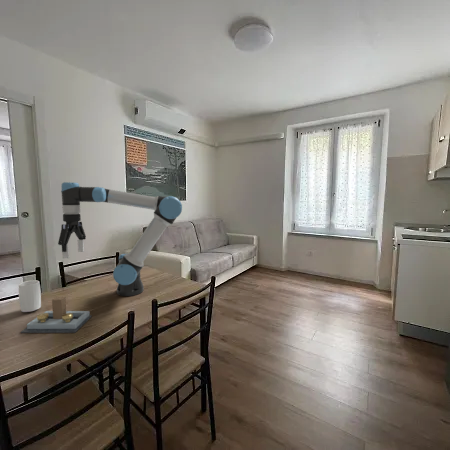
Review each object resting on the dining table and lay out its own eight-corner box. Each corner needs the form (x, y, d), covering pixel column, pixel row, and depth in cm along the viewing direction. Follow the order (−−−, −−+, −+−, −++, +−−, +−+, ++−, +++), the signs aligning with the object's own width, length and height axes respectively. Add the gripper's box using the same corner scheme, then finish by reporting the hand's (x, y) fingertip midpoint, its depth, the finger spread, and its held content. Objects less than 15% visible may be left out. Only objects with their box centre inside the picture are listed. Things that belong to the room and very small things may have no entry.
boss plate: (91, 316, 117) (91, 305, 116) (75, 332, 103) (74, 320, 102) (44, 316, 116) (43, 305, 115) (20, 332, 102) (19, 320, 101)
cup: (24, 316, 115) (21, 287, 114) (17, 311, 120) (14, 283, 118) (45, 309, 122) (43, 282, 121) (37, 305, 127) (35, 278, 125)
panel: (75, 328, 105) (74, 304, 103) (27, 328, 104) (25, 304, 102) (89, 315, 117) (88, 293, 115) (46, 315, 116) (44, 292, 114)
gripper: (77, 211, 135) (79, 249, 138) (47, 215, 111) (50, 261, 113) (91, 211, 136) (93, 249, 138) (64, 215, 111) (66, 261, 113)
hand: (73, 254), depth 126 cm, fingers open, 13 cm apart
